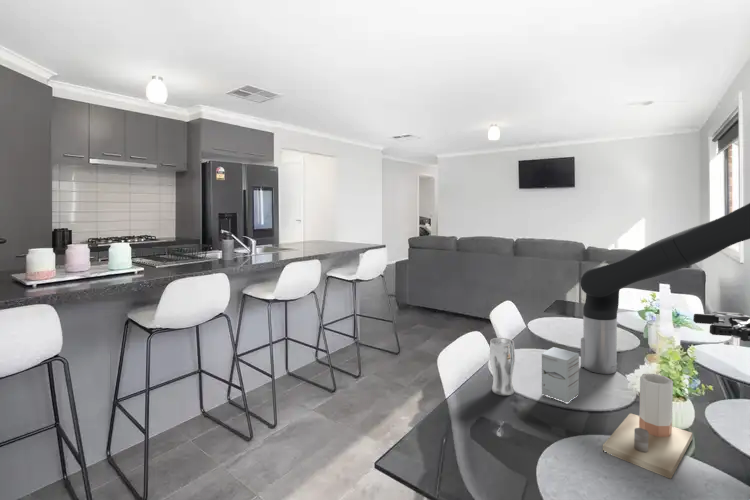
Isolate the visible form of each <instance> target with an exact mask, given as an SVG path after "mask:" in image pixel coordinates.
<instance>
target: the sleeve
mask: <svg viewBox="0 0 750 500" xmlns="http://www.w3.org/2000/svg"><path fill="white" fill-rule="evenodd" d="M673 393H674V381H673V380H672V379H671V378H669V377H668V376H666V375H660V374H657V373H643V374H642V375H640V376H639V414H638V416H639V427H640V428H642V429H645V430H647V431H648V434H651V435H654V436H657V437H669V436H670V434H671V433H672V427H673V395H674V394H673Z"/></svg>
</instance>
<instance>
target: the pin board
mask: <svg viewBox="0 0 750 500" xmlns="http://www.w3.org/2000/svg"><path fill="white" fill-rule="evenodd" d="M692 440H693V432H690V431H687V430H685V429H683V428H682V429H681V428H678V427H675V426H672V433H671V434H670V436H669V437H657V436H654V435H651V434H648V431H647V430H645V429H642V428H640V427H639V414H633V413H630V412H629V414H628V415H627V416H626V417H625V418H624V419H623V420H622V422H621V423H620V424H619V425H618V427H617V428H616V429H615V430H614V431H613V432H612V434H611V435H610V436H609V437H608V438H607V439H606V440H605V442H604V443H603V444H602V451H603V450H604V451H606V452H607V453H606V454H608V453H609V454H608V455H610V454H612V455H611V456H612V457H615V458H618V459H621V460H622V461H625V462H628V463H630V464H633V465H635V466H637V467H640V468H642V469H645V470H648V471H650V472H652V473H655V474H657V475H660V476H662V477H664V478H665V477H666V478H667V479H670V480H672V479H673V476H674V474H675V473H676V471H677V469H678V468H679V467H678V466H679V464H680V463H681V462H682V459H683V458H684V456H685V453H686V452H687V450H688V448H689V446H690V444H691V442H692Z"/></svg>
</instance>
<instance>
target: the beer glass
mask: <svg viewBox="0 0 750 500" xmlns="http://www.w3.org/2000/svg"><path fill="white" fill-rule="evenodd" d="M489 341H490V342H489V343H490V344H489V361H490V367H491V373H492V378H493V379H492V380H493V382H492V387H491V390H492V393H494V394H495V395H498V396H502V397H506V396H512V395H513V394H514V392H515V389H514V386H513V377H514V371H515V370H514V369H515V362H516V351H515V341H514V340H513V339H511V338H508V337H507V338H506V337H494V338H491V339H490V340H489Z"/></svg>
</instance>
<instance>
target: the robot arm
mask: <svg viewBox="0 0 750 500" xmlns="http://www.w3.org/2000/svg"><path fill="white" fill-rule="evenodd" d="M747 240H748V241H749V240H750V202H749V203H746V204H745V205H743V206H741V207H739V208H737V209H735V210H733V211H730V212H729V213H727V214H725V215H723V216H720V217H719V218H715V219H713V220H711V221H708V222H705V223H701V224H699V225H696V226H695V225H694V227H691V228H688V229H684V230H682V231H679V232H677V233H675V234H674V233H673V234H671V235H669V236H666V237H664V238H661V239H659V240H656V241H655V242H652V243H651V244H649V245H647V246H645V247H643V248H641V249H639V250H637V251H636V252H633V253H631V255H629V256H627V257H625V258H623V259H620V260H618V261H614V262H612V263H609V264H606V265H605V264H597V265H595V266H593V267H591V268H588V269H587V270H586V271H585V272H584V273H583V274H582V276H581V278H580V283H579V284H580V289H581V290H582V291H583V293H584V294H585V301H584V305H583V309H582V314H583V321H582V322H583V323H582V325H583V327H582V328H583V329H582V330H583V331H582V332H583V334H582V336H583V337H581V338H580V367H581V368H583V367H584V368H583V369H585V370H587V371H589V372H593V373H596V374H601V375H603V374H604V375H610V374H615V373H616V372H617V365H618V363H617V356H618V355H617V353H618V352H617V351H618V349H617V347H618V346H617V345H618V343H617V342H618V341H617V340H618V339H617V338H618V330H617V329H618V309H619V303H620V302H619V301H620V299H619V298H620V290H621V289H623V288H625V287H627V286H630V285H631V284H635V283H637V282H640V281H645V280H648V279H651V278H652V279H653V278H656V277H659V276H662V275H665V274H670V273H672V272H676V271H678V270H681V269H684V268H687V267H689V266H692V265H695V264H698V263H700V262H702V261H704V260H706V259H708V258H710V257H712V256H714V255H716V254H717V253H719V252H722V251H723V250H726V249H727V248H729V247H731V246H733V245H735V244H738V243H741V242H745V241H747ZM720 318H722V319H720ZM692 321H693V322H694V323H695V324H701V325H702V324H703V325H709V333H710V334H711V335H712V336H725V337H732V338H735V339H740V341H743V342H750V315H746V314H744V313H742V312H727V311H726V312H725V311H712V313H711V314H709V313H708V314H706V313H694V314H693V320H692Z"/></svg>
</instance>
